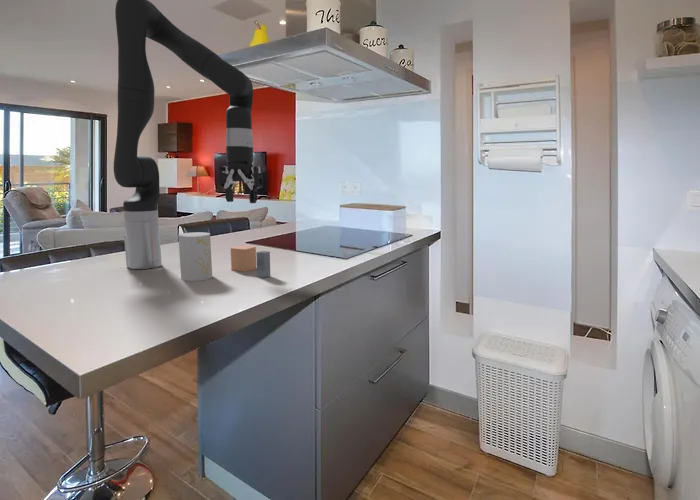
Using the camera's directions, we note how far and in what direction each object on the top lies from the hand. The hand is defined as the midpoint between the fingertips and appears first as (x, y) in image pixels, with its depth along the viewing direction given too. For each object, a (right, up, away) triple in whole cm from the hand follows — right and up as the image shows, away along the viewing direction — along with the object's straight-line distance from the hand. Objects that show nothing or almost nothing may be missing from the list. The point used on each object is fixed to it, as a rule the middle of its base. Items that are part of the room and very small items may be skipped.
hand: (241, 202), depth 124 cm
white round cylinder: (-11, -22, -7) cm, 25 cm away
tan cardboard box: (0, -20, +4) cm, 20 cm away
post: (+8, -21, -5) cm, 23 cm away
